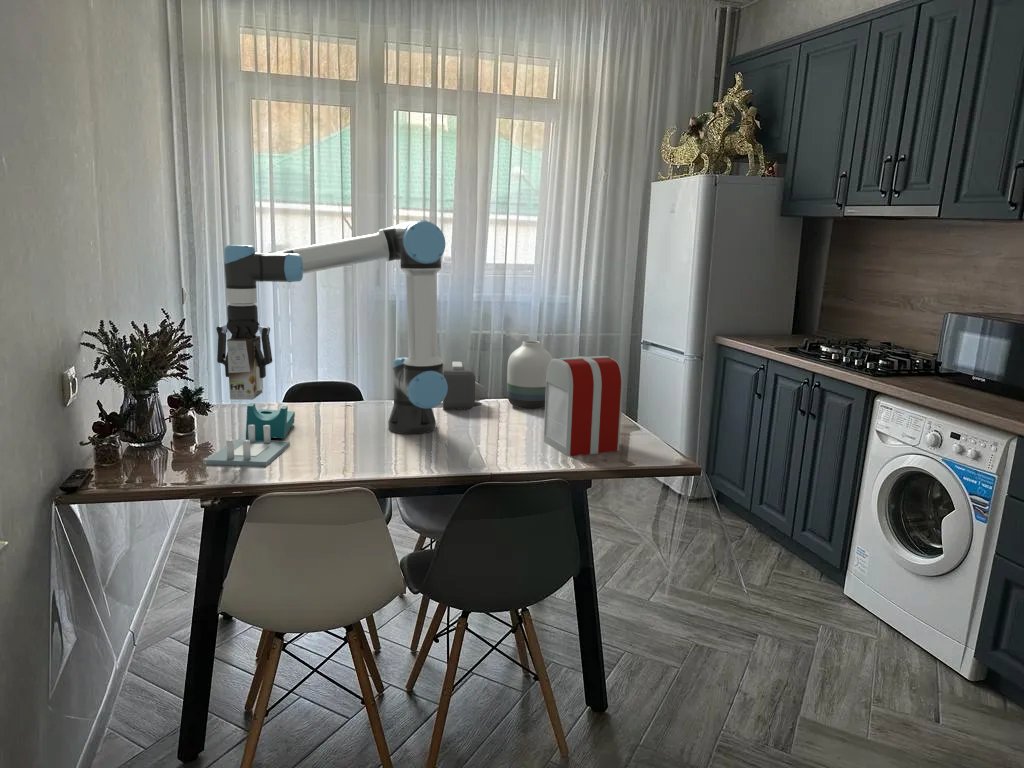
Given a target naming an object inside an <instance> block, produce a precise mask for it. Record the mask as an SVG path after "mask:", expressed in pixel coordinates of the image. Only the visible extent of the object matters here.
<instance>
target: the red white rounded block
mask: <svg viewBox="0 0 1024 768" xmlns="http://www.w3.org/2000/svg"><path fill="white" fill-rule="evenodd" d="M623 388H624V378H623V371H622V368H621V365H620V364H619V362H618V361H617V360H615V359H614V358H612V357H610V356H608V355H598V356H597V355H596V356H581V355H579V356H573V357H557V358H556V357H555V358H553V359H552V360H551V361H550V363H549V365H548V369H547V374H546V395H545V407H544V424H543V425H544V427H543V442H544V443H545V444H547V445H548V446H550V447H552V448H553V449H554V450H556V451H558V452H560V453H561V454H562V455H564V456H566V457H574V456H575V457H576V456H583V455H595V454H596V455H597V454H602V453H611V452H619V451H620V439H621V438H620V437H621V419H622V405H623V404H622V403H623V392H624V391H623Z"/></svg>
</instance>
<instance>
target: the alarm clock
mask: <svg viewBox="0 0 1024 768" xmlns="http://www.w3.org/2000/svg"><path fill="white" fill-rule="evenodd" d="M474 371H475V370H474V368H473V367H472V365H470V364H464V363H463V362H462V361H452V364H451V363H450V364H449V363H446V364H445V363H443V376H444V378H445V379H446V382H447V385H448V391H447V395H446V397H445V399H444V400H443V401H442V410H469V409H472V408H473V407H474V406H475V402H476V375H475V372H474Z"/></svg>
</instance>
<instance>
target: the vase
mask: <svg viewBox="0 0 1024 768" xmlns="http://www.w3.org/2000/svg"><path fill="white" fill-rule="evenodd" d="M552 359H554V358H553V356H552V354H551V353H550V352H549V351H548V350H547V349H545V348H544V347H543V346H542V344H541V342H540V341H538V340H524V341H522V343H521V345H520V346H519V347H518V348H516V349H515V350H514V351H512V353H510V355H509V357H508V360H507V369H506V370H507V371H506V372H507V374H506V380H507V381H506V394H507V395H506V396H507V400H508V402H509V404H510V405H512V406H513V407H515V408H518V409H524V410H541V409H543V408H544V409H545V395H546V374H547V369H548V365H549V363H550V361H551V360H552Z"/></svg>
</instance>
